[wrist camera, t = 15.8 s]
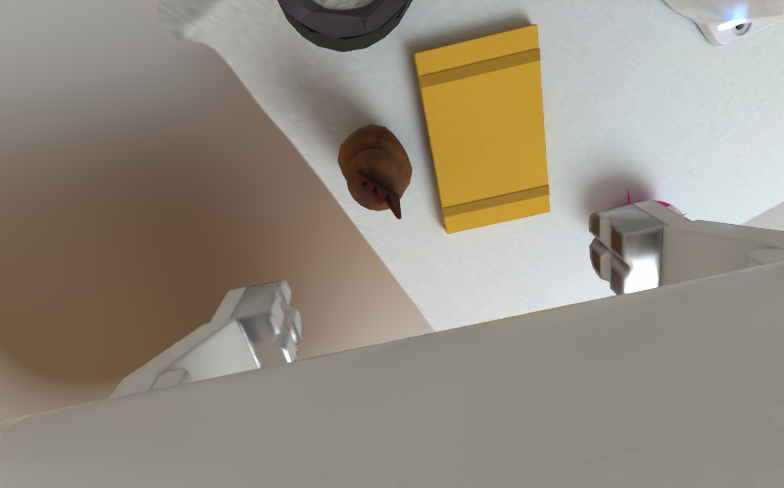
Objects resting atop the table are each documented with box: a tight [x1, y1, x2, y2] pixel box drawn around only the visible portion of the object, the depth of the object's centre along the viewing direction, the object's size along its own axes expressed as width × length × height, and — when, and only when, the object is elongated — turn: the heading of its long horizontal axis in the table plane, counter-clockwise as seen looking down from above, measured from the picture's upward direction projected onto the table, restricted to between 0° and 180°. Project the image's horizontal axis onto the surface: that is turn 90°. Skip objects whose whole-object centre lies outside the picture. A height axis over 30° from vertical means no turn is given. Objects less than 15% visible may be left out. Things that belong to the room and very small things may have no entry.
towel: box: [413, 24, 550, 234], centre depth 43 cm, size 11×18×1 cm, turn 12°
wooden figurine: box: [338, 125, 412, 220], centre depth 37 cm, size 7×6×15 cm
